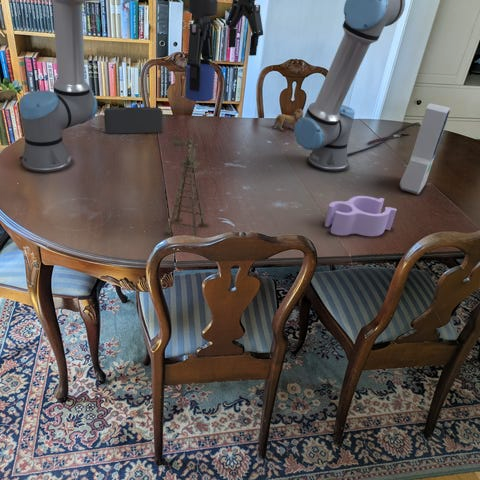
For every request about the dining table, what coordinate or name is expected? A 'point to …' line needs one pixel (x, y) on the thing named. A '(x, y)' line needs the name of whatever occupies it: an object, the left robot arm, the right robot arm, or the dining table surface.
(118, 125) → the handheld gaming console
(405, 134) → the sword
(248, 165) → the dining table surface
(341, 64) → the right robot arm
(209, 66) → the can
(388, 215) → the clip
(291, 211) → the dining table surface
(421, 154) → the electronic device
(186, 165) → the miniature windmill
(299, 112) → the lion figurine
